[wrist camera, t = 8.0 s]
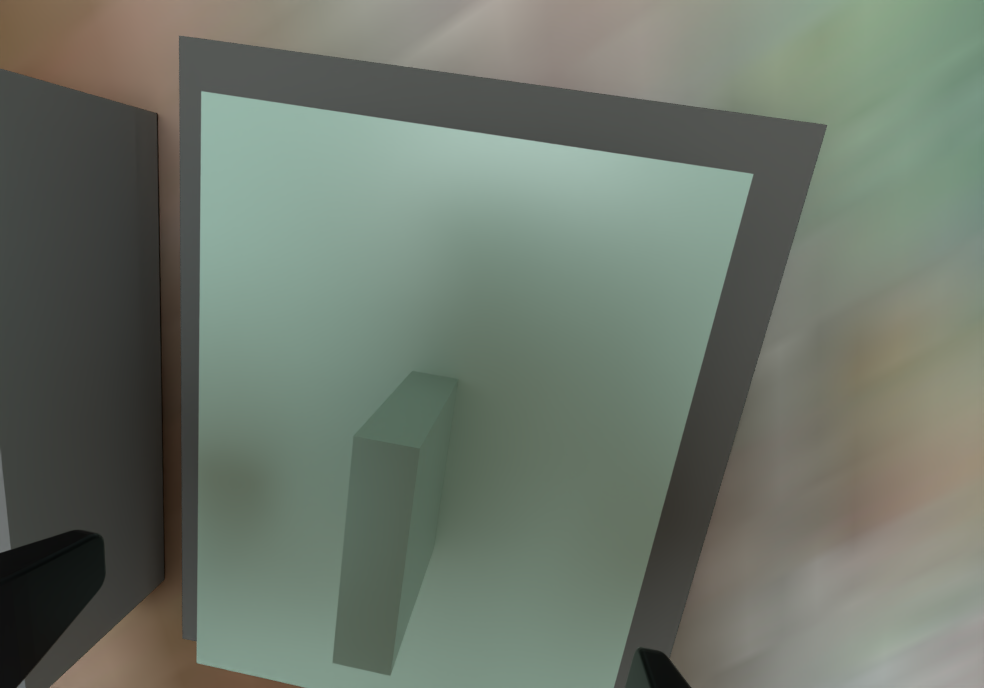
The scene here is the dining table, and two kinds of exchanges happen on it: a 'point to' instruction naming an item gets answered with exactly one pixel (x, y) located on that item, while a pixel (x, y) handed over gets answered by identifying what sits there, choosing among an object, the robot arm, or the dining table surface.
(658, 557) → the mat
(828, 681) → the dining table surface
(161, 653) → the dining table surface
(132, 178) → the tub
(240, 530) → the lid
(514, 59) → the dining table surface
